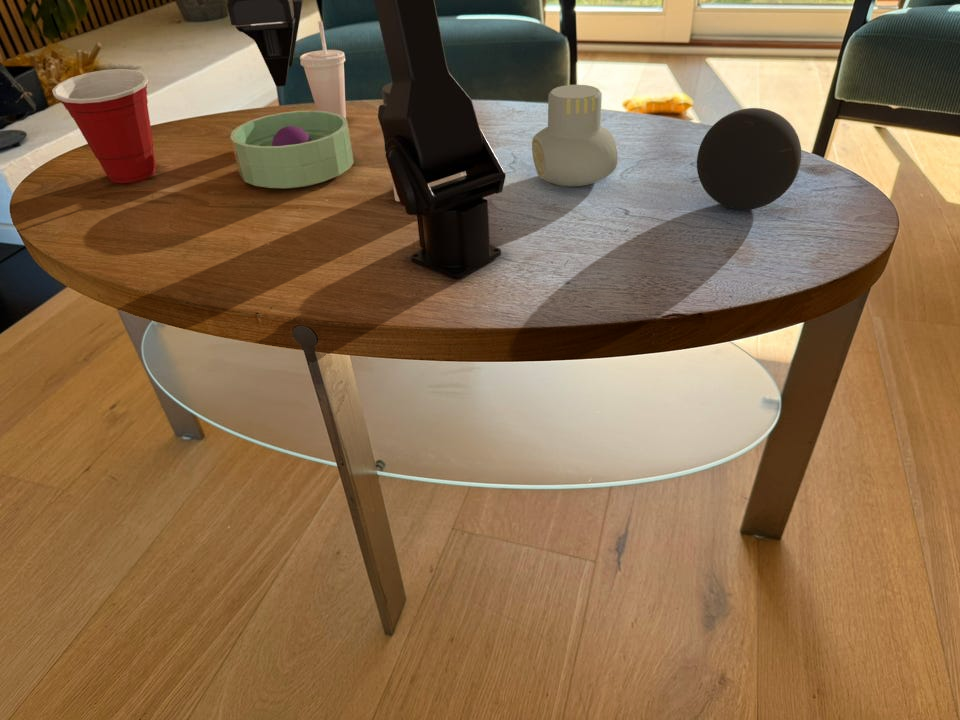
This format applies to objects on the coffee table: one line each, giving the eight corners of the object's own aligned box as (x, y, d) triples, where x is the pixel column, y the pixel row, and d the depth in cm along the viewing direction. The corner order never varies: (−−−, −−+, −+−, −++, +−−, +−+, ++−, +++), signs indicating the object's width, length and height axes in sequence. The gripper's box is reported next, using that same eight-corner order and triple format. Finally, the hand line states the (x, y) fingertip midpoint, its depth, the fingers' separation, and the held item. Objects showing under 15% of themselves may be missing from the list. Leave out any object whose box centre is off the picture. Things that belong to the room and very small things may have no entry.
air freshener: (620, 192, 80) (627, 101, 74) (549, 200, 79) (549, 109, 73) (593, 158, 89) (597, 75, 83) (529, 165, 88) (528, 82, 82)
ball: (324, 164, 90) (317, 125, 87) (291, 176, 87) (283, 135, 85) (301, 157, 93) (293, 118, 90) (269, 168, 90) (260, 128, 87)
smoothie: (346, 130, 103) (329, 26, 95) (305, 129, 104) (285, 26, 96) (360, 116, 108) (346, 16, 100) (321, 116, 109) (303, 17, 101)
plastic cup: (83, 198, 87) (43, 97, 80) (92, 169, 95) (56, 75, 88) (176, 183, 89) (145, 84, 82) (177, 156, 98) (148, 64, 91)
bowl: (376, 165, 91) (370, 122, 88) (284, 202, 83) (274, 156, 79) (310, 144, 99) (302, 104, 96) (220, 176, 91) (208, 133, 87)
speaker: (702, 182, 81) (714, 92, 75) (795, 194, 77) (816, 99, 71) (681, 217, 74) (693, 120, 68) (783, 232, 70) (805, 130, 64)
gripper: (192, -80, 82) (227, 62, 91) (154, -65, 67) (200, 104, 76) (290, -87, 83) (315, 55, 92) (274, -73, 68) (305, 94, 77)
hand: (284, 75), depth 84 cm, fingers open, 9 cm apart
